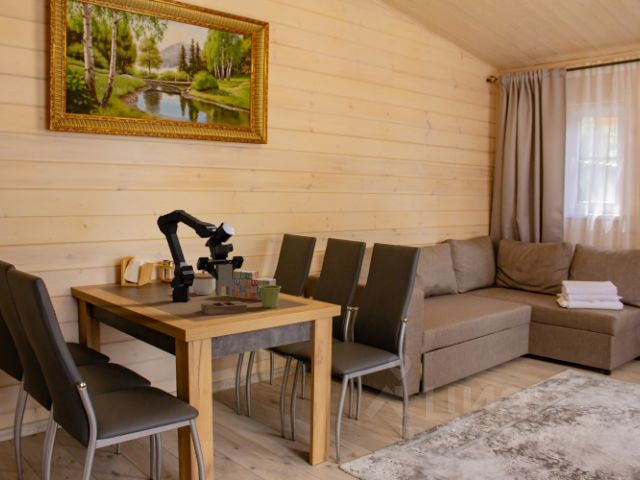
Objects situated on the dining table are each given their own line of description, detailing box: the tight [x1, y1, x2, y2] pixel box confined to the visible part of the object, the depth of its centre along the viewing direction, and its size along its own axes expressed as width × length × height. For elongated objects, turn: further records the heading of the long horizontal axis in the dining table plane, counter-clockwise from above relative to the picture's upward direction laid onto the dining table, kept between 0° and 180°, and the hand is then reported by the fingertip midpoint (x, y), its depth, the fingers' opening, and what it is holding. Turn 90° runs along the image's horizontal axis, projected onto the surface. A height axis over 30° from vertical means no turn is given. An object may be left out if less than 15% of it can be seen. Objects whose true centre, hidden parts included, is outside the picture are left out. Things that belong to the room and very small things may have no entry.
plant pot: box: [259, 285, 282, 309], centre depth 272 cm, size 9×9×9 cm
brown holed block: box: [200, 300, 248, 316], centre depth 260 cm, size 10×16×3 cm, turn 117°
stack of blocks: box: [228, 269, 277, 301], centre depth 293 cm, size 21×6×12 cm, turn 66°
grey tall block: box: [214, 264, 232, 297], centre depth 259 cm, size 4×6×12 cm
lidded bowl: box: [190, 270, 215, 296], centre depth 301 cm, size 13×13×11 cm
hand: (224, 279), depth 258 cm, fingers closed on grey tall block, 6 cm apart
